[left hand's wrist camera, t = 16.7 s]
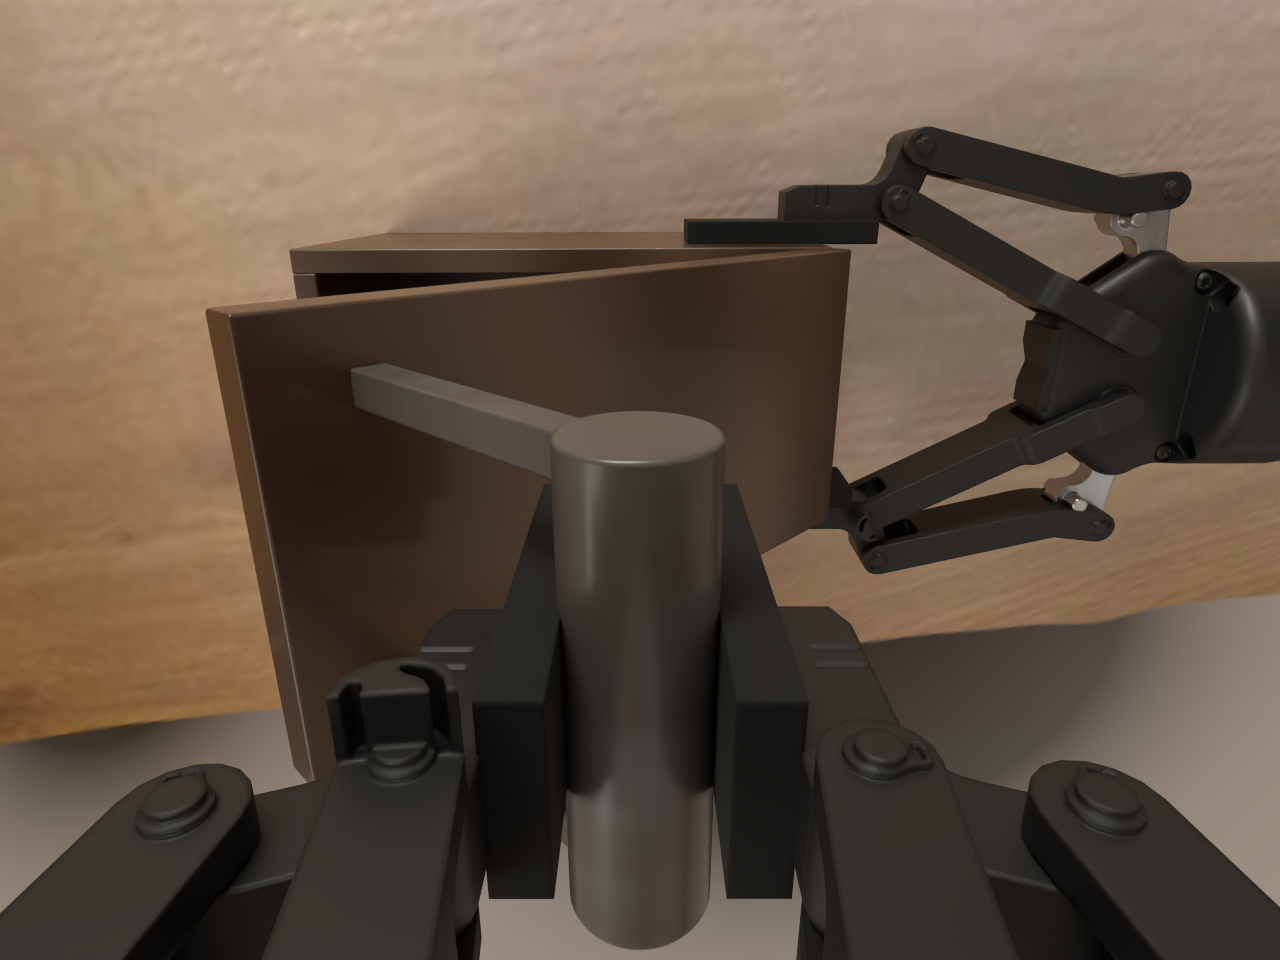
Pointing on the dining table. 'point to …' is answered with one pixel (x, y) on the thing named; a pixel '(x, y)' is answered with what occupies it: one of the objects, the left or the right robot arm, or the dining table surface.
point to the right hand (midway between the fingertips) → (684, 367)
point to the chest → (490, 257)
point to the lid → (508, 496)
